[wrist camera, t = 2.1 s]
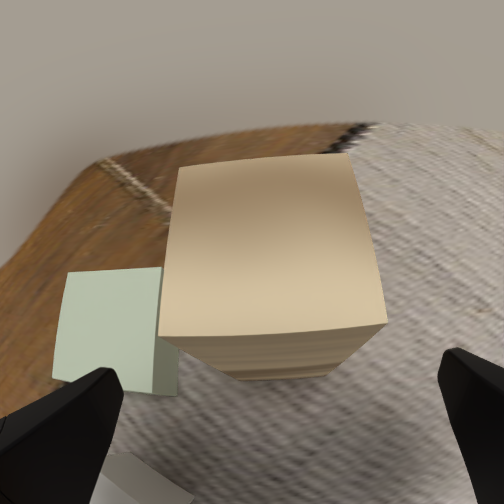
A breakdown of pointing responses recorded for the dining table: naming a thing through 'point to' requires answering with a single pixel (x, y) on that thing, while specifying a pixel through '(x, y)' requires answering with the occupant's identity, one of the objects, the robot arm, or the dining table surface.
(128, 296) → the sage base block
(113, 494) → the grey cube
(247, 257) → the maple pillar
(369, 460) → the dining table surface
